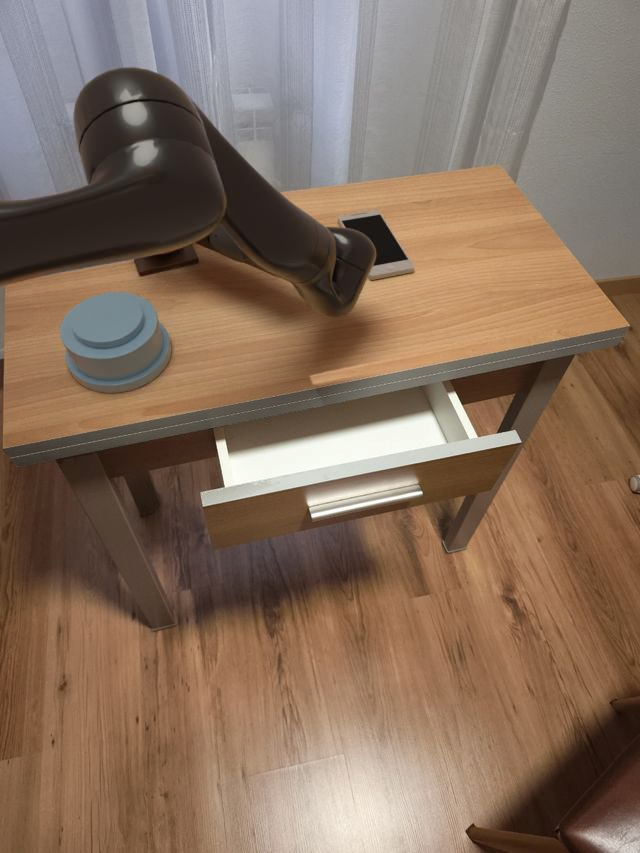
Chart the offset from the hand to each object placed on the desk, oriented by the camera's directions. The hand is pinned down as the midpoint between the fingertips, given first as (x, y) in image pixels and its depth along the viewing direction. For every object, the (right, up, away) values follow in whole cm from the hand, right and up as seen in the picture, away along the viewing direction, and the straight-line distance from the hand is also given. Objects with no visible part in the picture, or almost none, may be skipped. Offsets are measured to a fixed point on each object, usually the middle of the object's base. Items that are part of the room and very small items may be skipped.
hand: (136, 186), depth 79 cm
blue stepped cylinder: (0, -24, -5) cm, 25 cm away
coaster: (+2, -7, +7) cm, 10 cm away
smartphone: (+34, -5, +10) cm, 36 cm away
